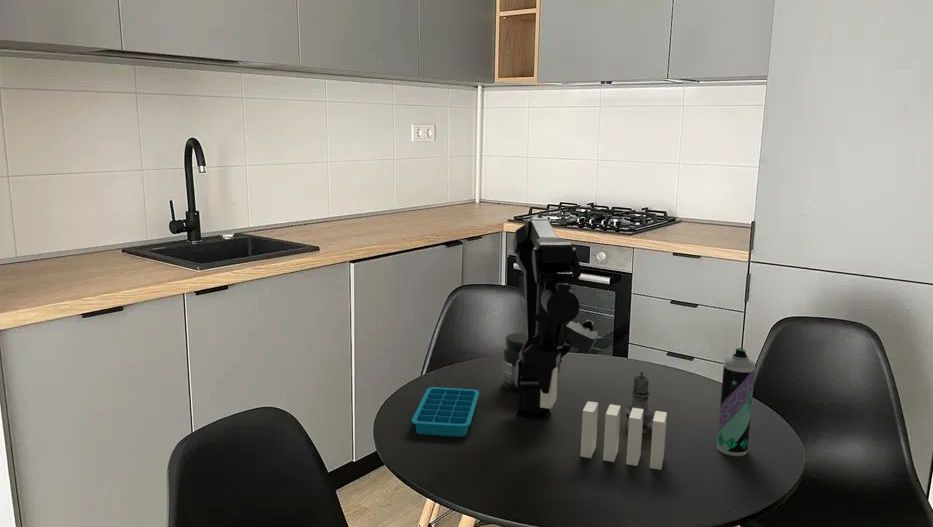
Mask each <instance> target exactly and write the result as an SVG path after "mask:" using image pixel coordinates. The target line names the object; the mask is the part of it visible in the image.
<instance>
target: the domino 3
mask: <svg viewBox="0 0 933 527" xmlns="http://www.w3.org/2000/svg"><path fill="white" fill-rule="evenodd" d="M621 406H622V405H617V404H616V405H615V404H612V403H611V404H609V406H608V408H607V411H606V412H605V419H604V436H603V438H604V440H603V453H602V454H603V457H602V458H603V459H602V460H603V461H606V462H611V463H615V461H616V458H617V455H618V452H619V440H620V425H621V423H620V422H621Z"/></svg>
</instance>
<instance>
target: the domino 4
mask: <svg viewBox="0 0 933 527" xmlns="http://www.w3.org/2000/svg"><path fill="white" fill-rule="evenodd" d="M643 411H644V409H639V408H632V411H631V414H630V416H629V420H628V423H629V427H628V429H627V443H626V444H627V445H626V446H627V447H626V460H625V461H626V462H625V463H626V465H630V466H636V467H637V466H638V465H639V461H640V459H641V456H642V454H641V453H642V438H643V433H642V426H643Z"/></svg>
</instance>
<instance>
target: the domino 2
mask: <svg viewBox="0 0 933 527" xmlns="http://www.w3.org/2000/svg"><path fill="white" fill-rule="evenodd" d="M598 415H599V402H595V401H590V400H589V401H587V402H586V404H585V406H584V408H583V409H582V417H581V418H582V419H581V441H580V457H581V458H587V459H592V457H593V455H594V453H595V450H596V448H597V438H598V437H597V434H598V433H597V432H598Z"/></svg>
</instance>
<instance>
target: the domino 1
mask: <svg viewBox="0 0 933 527" xmlns="http://www.w3.org/2000/svg"><path fill="white" fill-rule="evenodd" d="M557 377H558V378H559V375H558V367H556V368H555V369H554V371H553V376H552V380H551V385H550V389H549V393H548V394H545V393H542V390H541V396H540V407H541V408H548V409H551V407H552V408H553V405H554V404H555V403H556V401H557V399H558V398H557V395H558V385H557Z"/></svg>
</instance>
